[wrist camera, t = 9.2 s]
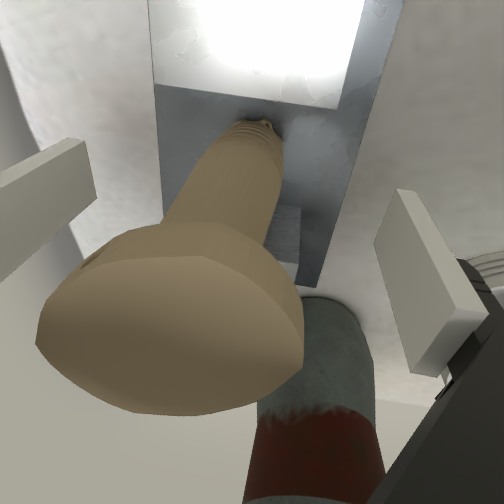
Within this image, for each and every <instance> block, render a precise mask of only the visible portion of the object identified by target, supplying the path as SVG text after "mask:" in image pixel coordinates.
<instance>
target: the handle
mask: <svg viewBox="0 0 504 504" xmlns="http://www.w3.org/2000/svg"><path fill="white" fill-rule="evenodd" d="M283 171H284V158H283V141H282V138H281V137H279V136H278V135H277V134H276V133H275V132H274V130H273V127H272V122H271V121H269V120H268V119H266V118H264V119H262V120H259V121H248V120H246V119H241V120H239V121H237V122H236V123H234V124H233V125H232V126H231V128H229V129H228V130H226V131H225V132H224V133H223V134H222V135H220V136H219V137H218V138H217V139H216V140H215V141H214V142H213V143H212V144H211V145H210V147H209V148H208V149H207V150H206V151H205V153H204V154H203V155H202V156H201V157H200V159H199V160H198V162H197V164H196V165H195V167H194V169H193V170H192V172H191V174H190V175H189V177H188V179H187V180H186V182H185V184H184V185H183V187H182V189H181V190H180V192H179V194H178V195H177V197H176V199H175V200H174V202H173V203H172V205H171V207H170V208H169V210H168V211H167V213H166V215H165V216H164V218H163V219H162V221H161V223H160V224H157V225H151V226H145V227H141V228H137V229H133V230H130V231H127V232H125V233H123V234H121V235H119V236H117V237H114V238H113V239H112V240H110V241H109V242H108V243H106V244H105V245H104V246H102V247H101V248H100V249H98V250H97V251H96V252H94V253H93V254H92V255H90V256H89V257H88V258H86V259H85V260H84V261H83V262H82V263H81V264H80V265H79V266H77V267H76V268H75V269H74V271H72V272H71V273H70V274H69V275H68V277H67V278H66V279H65V280H64V281H63V282H62V283H61V284H60V286H59V287H58V288H57V289H56V290H55V291H54V292H53V293H52V295H51V296H50V297H49V298H48V299H47V300H46V302H45V304H44V307H43V309H42V311H41V314H40V319H39V323H38V330H37V336H36V342H35V344H36V346H37V347H38V349H39V350H40V352H41V353H42V355H43V356H44V357H45V358H46V359H47V361H48V362H49V363H50V364H51V365H52V366H53V367H54V368H55V369H57V370H58V371H59V372H60V373H61V374H62V375H64V376H65V377H66V378H68V379H69V380H70V381H72V382H73V383H74V384H76V385H77V386H79V387H80V388H82V389H83V390H85V391H87V392H88V393H90V394H91V395H93V396H95V397H97V398H99V399H101V400H103V401H105V402H107V403H109V404H111V405H114V406H116V407H119V408H121V409H124V410H127V411H130V412H133V413H142V414H154V415H169V416H199V415H205V414H212V413H216V412H220V411H225V410H229V409H233V408H237V407H242V406H245V405H248V404H251V403H254V402H257V401H259V400H260V399H262V398H264V397H266V396H267V395H269V394H270V393H272V392H273V391H274V390H276V389H277V388H278V387H279V386H281V385H282V384H283V383H285V382H286V381H287V380H288V379H289V378H291V377H292V376H293V375H294V374H295V373H297V372H298V371H299V370H300V369H302V367H303V358H304V315H303V306H302V301H301V299H300V296H299V294H298V291H297V289H296V286H295V284H294V283H293V281H292V280H291V278H290V277H289V275H288V273H287V272H286V270H285V269H284V268H283V267H282V265H281V264H280V263H279V262H278V261H277V260H276V259H275V258H274V257H273V256H272V254H271V253H270V252H269V251H267V250H266V249H265V248H264V247H263V244H264V240H265V237H266V234H267V231H268V228H269V225H270V222H271V219H272V216H273V213H274V210H275V207H276V204H277V201H278V198H279V195H280V191H281V185H282V179H283Z"/></svg>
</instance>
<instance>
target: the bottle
mask: <svg viewBox="0 0 504 504" xmlns="http://www.w3.org/2000/svg"><path fill="white" fill-rule="evenodd" d="M300 299H301V301H302V306H303V315H304V358H303V367H302V369H300V370H299V371H298V372H297V373H295V374H294V375H293V376H292V377H291V378H289V379H288V380H287V381H286V382H285V383H283V384H282V385H281V386H279V387H278V388H277V389H276V390H274V391H273V392H272V393H270V394H269V395H267V396H266V397H264V398H262V399H260V400H259V401H257V429H256V434H255V440H254V445H253V450H252V455H251V460H250V465H249V470H248V476H247V481H246V486H245V491H244V496H243V501H242V504H366V503H367V501H368V500H369V498H370V497H371V495H372V494H373V492H374V491H375V490H376V488H377V487H378V485H379V484H380V482H381V481H382V479H383V478H384V476H385V475H386V473H385V469H384V464H383V460H382V456H381V452H380V448H379V443H378V439H377V434H376V425H375V385H374V365H373V360H372V357H371V354H370V350H369V347H368V344H367V341H366V338H365V336H364V334H363V332H362V330H361V328H360V326H359V324H358V322H357V320H356V318H355V317H354V315H353V314H352V313H351V312H350V311H349V310H348V309H347V308H346V307H345V306H343V305H341V304H339V303H336V302H334V301H332V300H328V299H322V298H317V297H316V298H300Z"/></svg>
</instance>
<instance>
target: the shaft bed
mask: <svg viewBox="0 0 504 504" xmlns="http://www.w3.org/2000/svg"><path fill="white" fill-rule="evenodd" d="M147 1H148V15H149V28H150V41H151V54H152V68H153V81H154V94H155V107H156V121H157V134H158V147H159V161H160V174H161V187H162V200H163V214H164V216H165V215H166V213H167V211H168V210H169V208H170V207H171V205H172V203H173V202H174V200H175V199H176V197H177V195H178V194H179V192H180V190H181V189H182V187H183V185H184V184H185V182H186V180H187V179H188V177H189V175H190V174H191V172H192V170H193V169H194V167H195V165H196V164H197V162H198V160H199V159H200V157H201V156H202V155H203V154H204V153H205V151H206V150H207V149H208V148H209V147H210V145H211V144H212V143H213V142H214V141H215V140H216V139H217V138H218V137H219V136H220V135H222V134H223V133H224V132H225V131H226V130H228V129H229V128H231V126H232V125H233V124H234V123H236V122H237V121H239V120H241V119H246V120H248V121H259V120H262V119H264V118H266V119H268V120H269V121H271V122H272V127H273V130H274V132H275V133H276V134H277V135H278V136H279V137H281V138H282V141H283V158H284V171H283V179H282V185H281V191H280V195H279V198H278V201H277V204H276V207H275V210H274V213H273V216H272V219H271V222H270V225H269V228H268V231H267V234H266V237H265V240H264V244H263V247H264V248H265V249H266V250H267V251H269V252H270V253H271V254H272V256H273V257H274V258H275V259H276V260H277V261H278V262H279V263H280V264H281V265H282V267H283V268H284V269H285V270H286V272H287V273H288V275H289V277H290V278H291V280H292V281H293V283H294V284H295V285H300V286H306V287H312V288H316V286H317V283H318V279H319V276H320V273H321V270H322V266H323V263H324V260H325V257H326V253H327V250H328V247H329V244H330V240H331V237H332V234H333V231H334V227H335V224H336V221H337V218H338V214H339V211H340V208H341V205H342V201H343V198H344V195H345V192H346V188H347V185H348V182H349V179H350V175H351V172H352V169H353V166H354V162H355V159H356V156H357V153H358V149H359V146H360V143H361V140H362V136H363V133H364V130H365V127H366V123H367V120H368V117H369V114H370V110H371V107H372V104H373V101H374V97H375V94H376V91H377V88H378V84H379V81H380V78H381V75H382V71H383V68H384V65H385V62H386V58H387V55H388V52H389V49H390V45H391V42H392V39H393V36H394V32H395V29H396V26H397V23H398V19H399V16H400V13H401V10H402V6H403V3H404V0H147Z"/></svg>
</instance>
